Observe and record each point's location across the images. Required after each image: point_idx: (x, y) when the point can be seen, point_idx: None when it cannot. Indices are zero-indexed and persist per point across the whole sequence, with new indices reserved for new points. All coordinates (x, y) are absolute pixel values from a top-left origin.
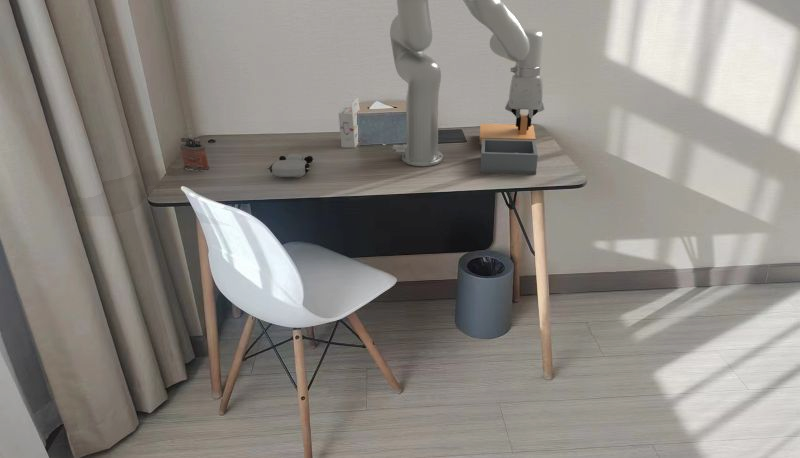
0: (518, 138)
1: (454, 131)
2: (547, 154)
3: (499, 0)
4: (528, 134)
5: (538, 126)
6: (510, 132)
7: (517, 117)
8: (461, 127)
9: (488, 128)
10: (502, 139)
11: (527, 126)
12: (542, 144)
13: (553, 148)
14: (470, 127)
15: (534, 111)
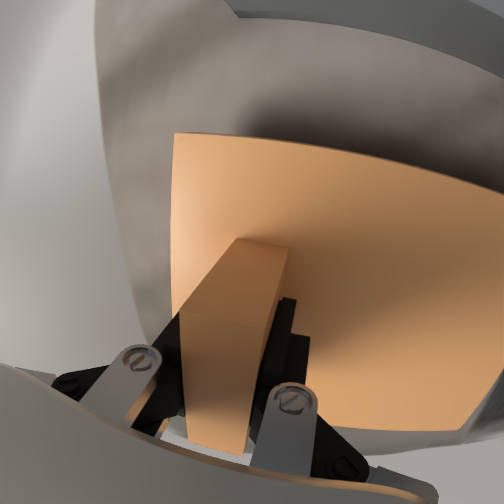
0: (322, 147)
1: (500, 412)
2: (150, 89)
3: None
4: (218, 238)
5: (175, 423)
6: (357, 299)
7: (297, 390)
8: (459, 443)
9: (463, 376)
10: (490, 8)
11: None
12: (158, 242)
13: (113, 180)
14: (432, 445)
15: (81, 392)
